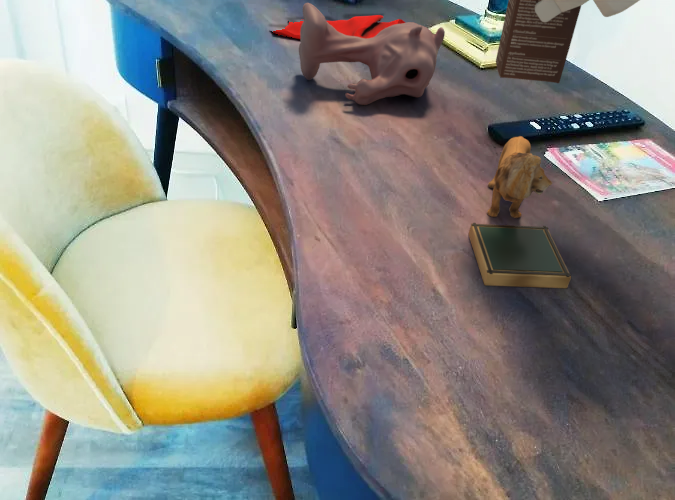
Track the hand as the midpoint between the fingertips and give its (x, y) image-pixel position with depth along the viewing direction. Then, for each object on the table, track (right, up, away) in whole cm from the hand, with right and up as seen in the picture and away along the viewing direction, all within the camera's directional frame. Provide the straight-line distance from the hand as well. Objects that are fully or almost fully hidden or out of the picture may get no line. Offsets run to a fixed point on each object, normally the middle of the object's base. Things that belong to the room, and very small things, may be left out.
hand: (536, 4), depth 60 cm
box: (0, -5, +4) cm, 7 cm away
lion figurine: (+2, -17, +16) cm, 24 cm away
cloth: (-18, +16, +56) cm, 61 cm away
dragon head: (-14, +1, +38) cm, 41 cm away
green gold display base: (0, -24, +8) cm, 25 cm away
